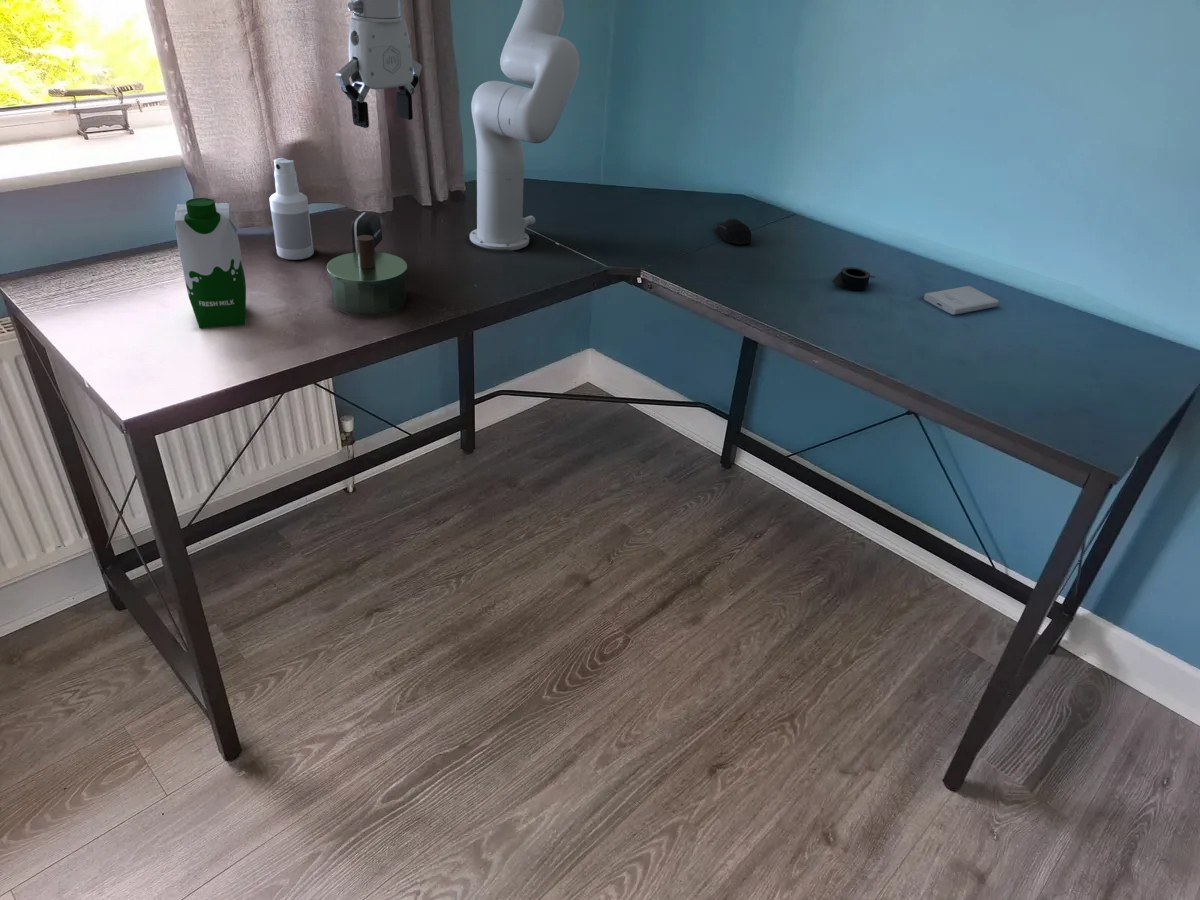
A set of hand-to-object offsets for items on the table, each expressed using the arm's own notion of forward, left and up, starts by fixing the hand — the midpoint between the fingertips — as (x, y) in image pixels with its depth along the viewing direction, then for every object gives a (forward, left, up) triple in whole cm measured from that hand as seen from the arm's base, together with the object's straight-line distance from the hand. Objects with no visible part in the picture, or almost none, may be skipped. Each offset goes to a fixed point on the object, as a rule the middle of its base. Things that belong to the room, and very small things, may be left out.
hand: (383, 122), depth 141 cm
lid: (+10, +5, -22) cm, 25 cm away
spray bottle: (+5, -22, -28) cm, 36 cm away
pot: (+10, +5, -28) cm, 30 cm away
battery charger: (+2, -4, -28) cm, 29 cm away
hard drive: (-73, +86, -28) cm, 116 cm away
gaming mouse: (-73, +33, -28) cm, 85 cm away
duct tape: (-65, +66, -28) cm, 97 cm away
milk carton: (+31, -7, -28) cm, 43 cm away
